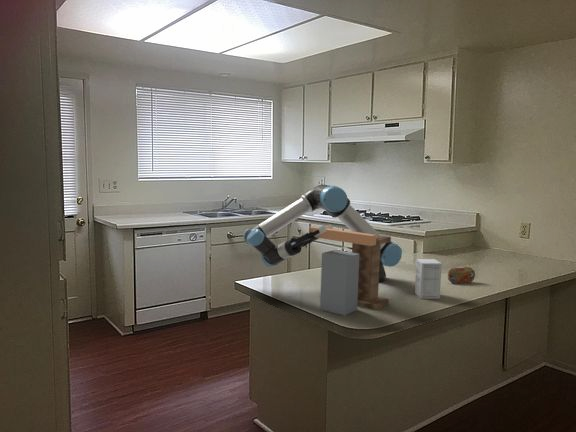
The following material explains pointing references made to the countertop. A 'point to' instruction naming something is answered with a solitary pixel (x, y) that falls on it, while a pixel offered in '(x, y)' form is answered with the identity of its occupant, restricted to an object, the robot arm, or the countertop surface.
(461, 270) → the tin
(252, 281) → the countertop surface
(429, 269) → the supplement box
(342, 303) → the slate block
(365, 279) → the stand
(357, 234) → the rod
